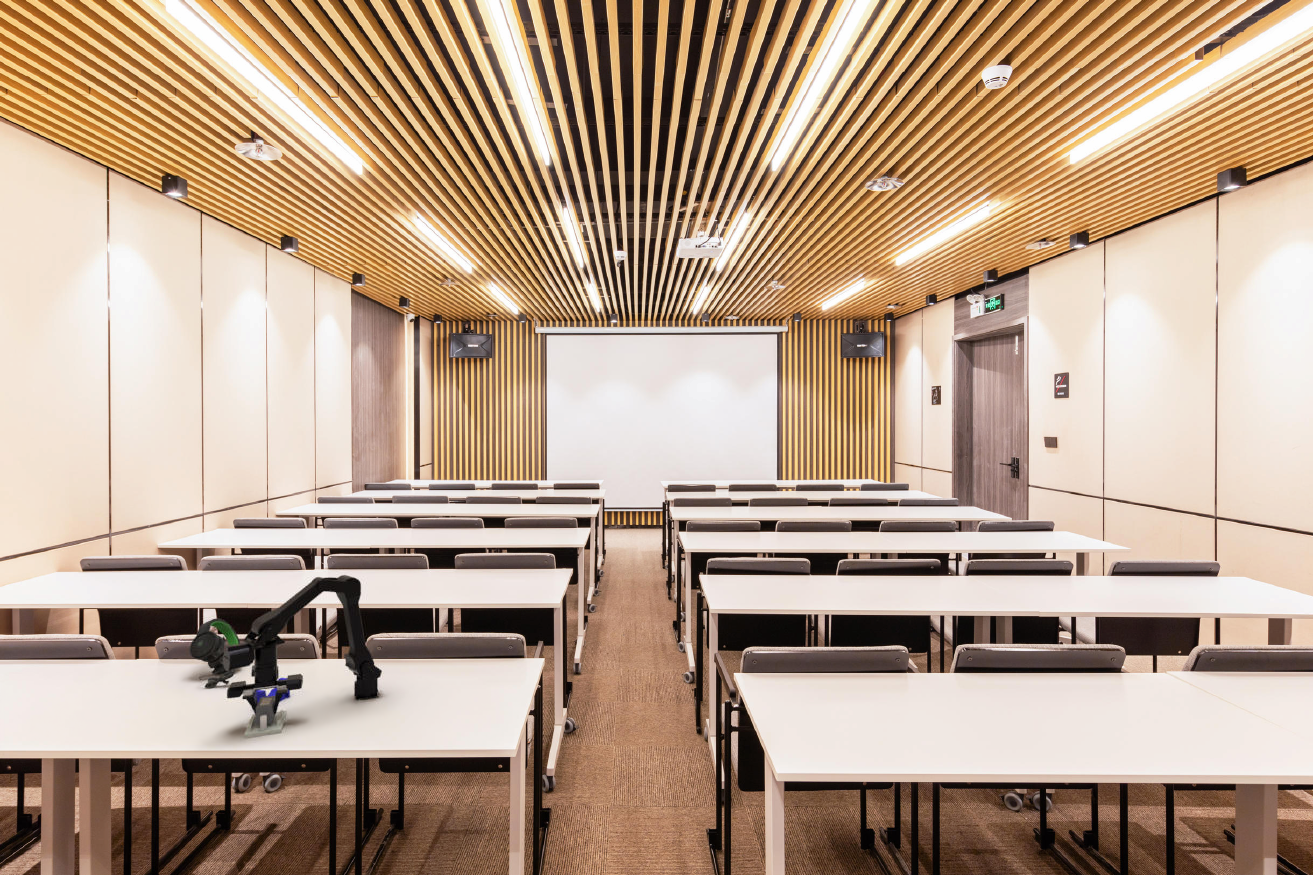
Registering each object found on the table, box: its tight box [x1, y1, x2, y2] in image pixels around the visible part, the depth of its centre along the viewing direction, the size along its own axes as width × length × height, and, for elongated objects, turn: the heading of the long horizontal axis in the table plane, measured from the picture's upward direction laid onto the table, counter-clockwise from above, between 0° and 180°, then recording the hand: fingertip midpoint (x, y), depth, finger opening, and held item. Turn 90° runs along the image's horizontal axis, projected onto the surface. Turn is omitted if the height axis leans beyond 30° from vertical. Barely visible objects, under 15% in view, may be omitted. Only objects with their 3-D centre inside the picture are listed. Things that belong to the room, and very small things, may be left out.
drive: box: [256, 696, 275, 725], centre depth 200 cm, size 4×8×5 cm, turn 21°
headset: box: [189, 618, 241, 689], centre depth 241 cm, size 18×14×29 cm
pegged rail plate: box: [243, 709, 287, 739], centre depth 200 cm, size 9×14×5 cm, turn 23°
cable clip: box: [257, 677, 291, 702], centre depth 216 cm, size 12×4×6 cm, turn 169°
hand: (266, 715), depth 200 cm, fingers closed on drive, 4 cm apart
